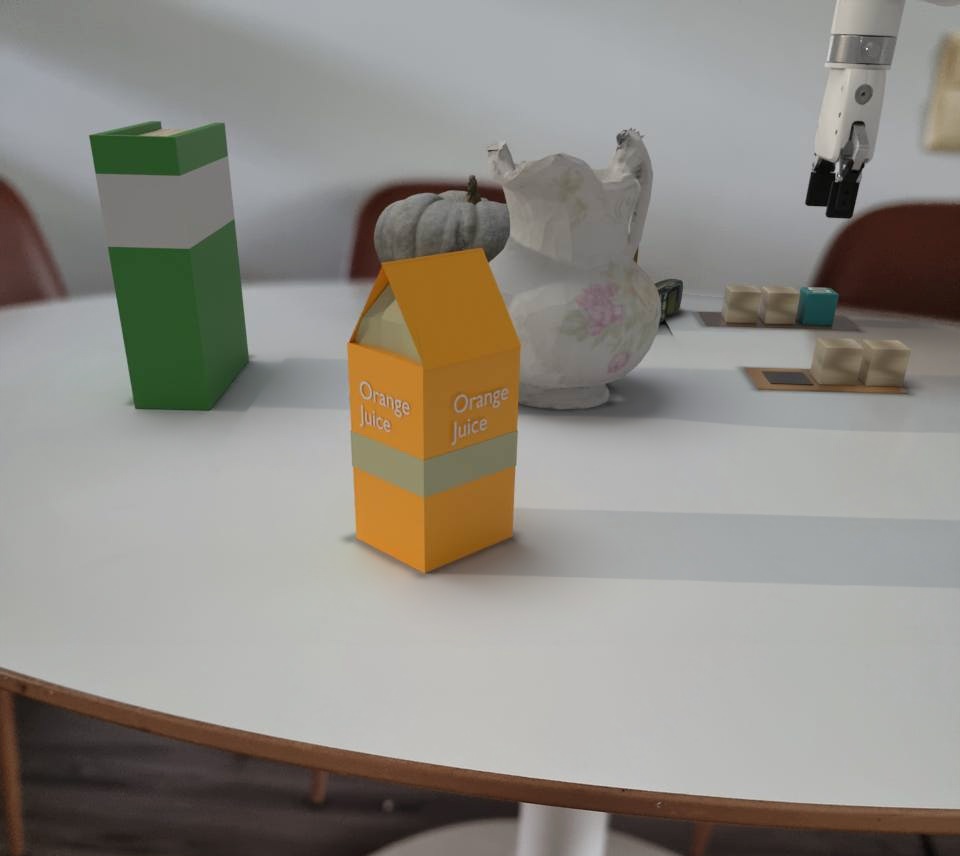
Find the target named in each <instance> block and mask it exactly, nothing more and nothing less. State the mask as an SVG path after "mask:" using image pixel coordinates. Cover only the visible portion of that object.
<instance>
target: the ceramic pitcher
mask: <svg viewBox="0 0 960 856" xmlns="http://www.w3.org/2000/svg"><path fill="white" fill-rule="evenodd" d="M636 130H637V129H636V128H632V127H630V128H629V129H623V130H620V131H619V132H618V134H616V138H615V139H616V148H615V151H614V153H613V155H612V159H611V160H610V161H609V162H608V164H607V165H606V166H605V167H604V168H592V166H590V165H589V164H588V162H587V161H585V160H583V159H581V158H578V157H576V156H574V155H571V154H568V153H566V152H564V151H560V152H557V153H553V154H549V155H547V156H545V157H543V158H541V159H537V160H536V159H535V160H527V161H526V160H521V161H519V162H514V159H513V156H512V153H511V151H510V149H509V146H508V144H507V140H497V141H494V142H492V144H491V145H490V144H489V145H485V146H484V147H485V150H486V151H487V166H488V169H489V173H490V175H491V178H492V179H493V180H494V181H495V182H496V183H497V184H498V185H500V186H502V190H503V193H504V199H505V201H506V202H505V203H506V204H507V206H508V210H509V214H510V236H509V238H508V240H507V243H506V245H505V247H504V249H503V250H502V251H501V252H500V253H499V254H498V255H497V256H496V257H495V258H494V259H493V260H491V261H490V262H489V266H490V268H491V271H492V273H493V276H494V278H495V281H496V283H497V286H498V288H499V291H500V293H501V296H502V298H503V301H504V303H505V306H506V308H507V311H508V313H509V316H510V318H511V321H512V323H513V326H514V328H515V331H516V333H517V336H518V338H519V341H520V343H521V346H522V347H521V352H520V375H519V398H518V404H521V405H525V406H529V407H533V408H541V409H549V410H584V409H591V408H593V407H598V406H601V405H604V404H605V403H606V402H608V401H609V397H610V390H609V388H608V386H607V384H610V383H613V382H616V381H618V380H621V379H622V378H624V377H626V376H627V375H628V374H630V373H631V372H632V371H633V370H634V369H635V368H637V367H638V366H639V364H640V363H641V362H642V361H643V359H644V358H645V357H646V355H647V354H648V352H649V351H650V350H651V348H652V345H653V344H654V341H655V339H656V337H657V334H658V331H659V326H660V324H659V321H660V316H661V301H660V297H659V293H658V290H657V288H656V286H655V282H654V280H653V278H652V277H651V276H650V275H649V274H648V272H646V270H644V269H643V268H641V266H639V264H638V262H637V263H636V262H635V261H634V260H633V259H634V255H635V253H636V251H637V248H638V246H640V245H641V244H640V243H641V241H642V239H643V232H644V229H645V228H644V227H645V223H646V219H647V216H648V211H649V207H650V202H651V198H652V197H651V196H652V189H653V180H654V171H653V166H652V160H651V157H650V155H649V152H648V149H647V146H646V145H645V142H643V140H642V139H643V138H644V137H645V136H646V135H644V134H643V135H641V134H640V131H636ZM638 249H639V248H638Z"/></svg>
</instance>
